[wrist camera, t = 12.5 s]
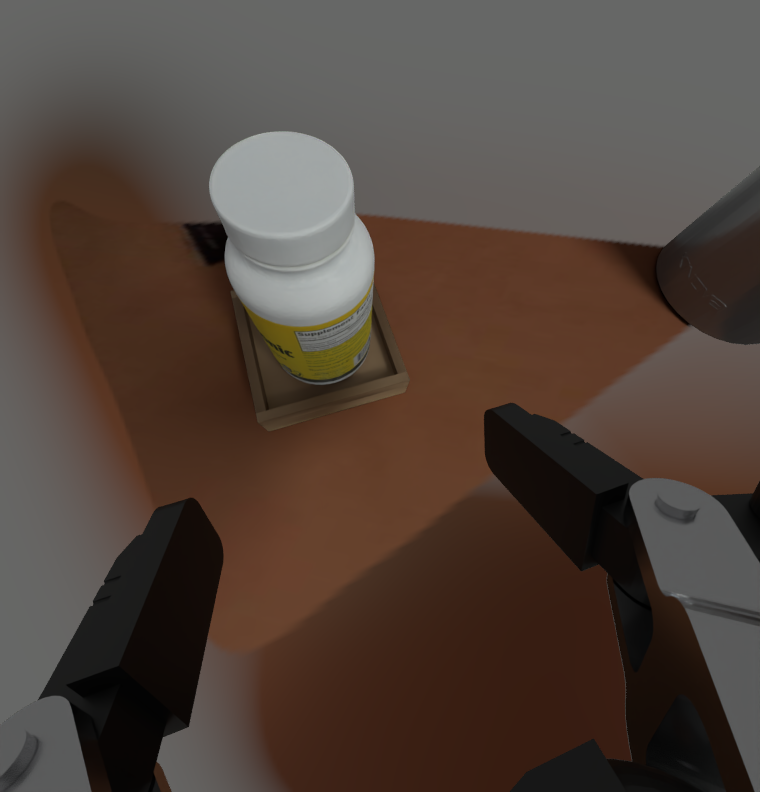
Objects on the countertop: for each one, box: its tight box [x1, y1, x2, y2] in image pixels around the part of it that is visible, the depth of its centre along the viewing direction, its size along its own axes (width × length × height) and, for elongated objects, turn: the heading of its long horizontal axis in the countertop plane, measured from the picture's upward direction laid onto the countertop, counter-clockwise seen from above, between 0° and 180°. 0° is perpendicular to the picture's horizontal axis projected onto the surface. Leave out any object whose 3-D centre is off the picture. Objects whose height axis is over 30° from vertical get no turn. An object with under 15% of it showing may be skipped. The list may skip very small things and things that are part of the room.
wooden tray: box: [230, 282, 410, 431], centre depth 18 cm, size 8×8×2 cm
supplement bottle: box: [209, 131, 374, 385], centre depth 13 cm, size 5×5×10 cm
